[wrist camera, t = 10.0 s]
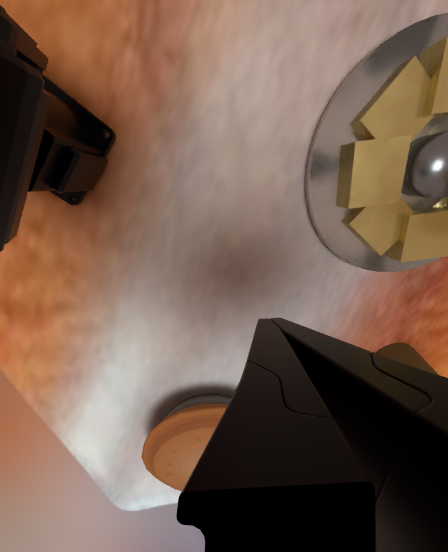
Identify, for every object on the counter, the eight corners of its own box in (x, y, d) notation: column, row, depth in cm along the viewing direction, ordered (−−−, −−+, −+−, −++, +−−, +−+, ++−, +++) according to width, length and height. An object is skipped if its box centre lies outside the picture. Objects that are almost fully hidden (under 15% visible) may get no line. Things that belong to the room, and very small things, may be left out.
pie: (124, 431, 29) (109, 477, 25) (204, 359, 26) (204, 399, 21) (212, 472, 34) (213, 518, 29) (290, 417, 30) (305, 459, 26)
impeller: (260, 187, 19) (270, 189, 16) (452, -60, 14) (521, -128, 11) (386, 300, 24) (412, 317, 21) (558, 147, 19) (624, 141, 16)
